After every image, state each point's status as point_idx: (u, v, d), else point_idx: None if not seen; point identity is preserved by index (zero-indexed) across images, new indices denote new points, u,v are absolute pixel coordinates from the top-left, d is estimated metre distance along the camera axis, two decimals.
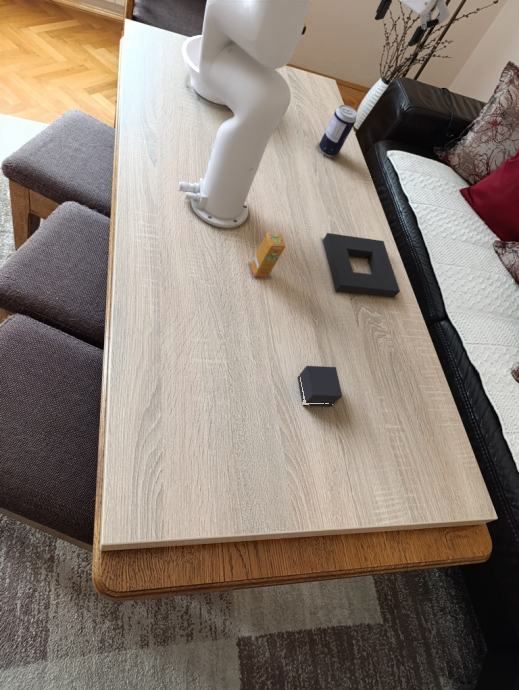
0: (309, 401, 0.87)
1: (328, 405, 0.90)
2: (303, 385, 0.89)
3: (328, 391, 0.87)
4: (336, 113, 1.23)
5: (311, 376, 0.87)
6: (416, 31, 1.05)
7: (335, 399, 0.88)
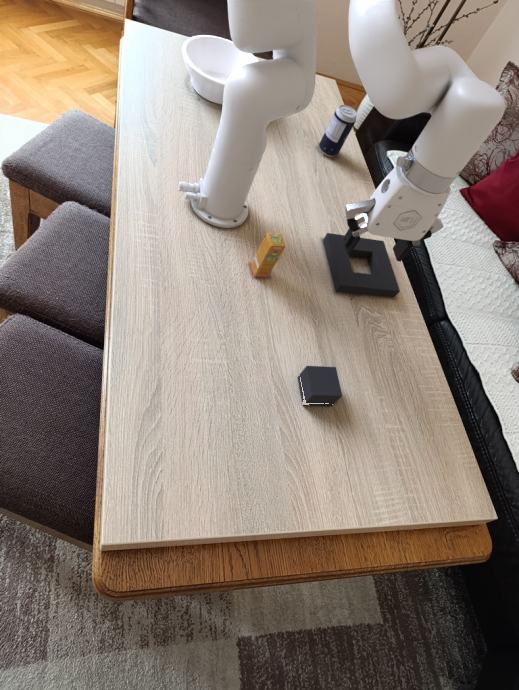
0: (309, 401, 0.87)
1: (328, 405, 0.90)
2: (303, 385, 0.89)
3: (328, 391, 0.87)
4: (336, 113, 1.23)
5: (311, 376, 0.87)
6: (407, 249, 0.83)
7: (335, 399, 0.88)
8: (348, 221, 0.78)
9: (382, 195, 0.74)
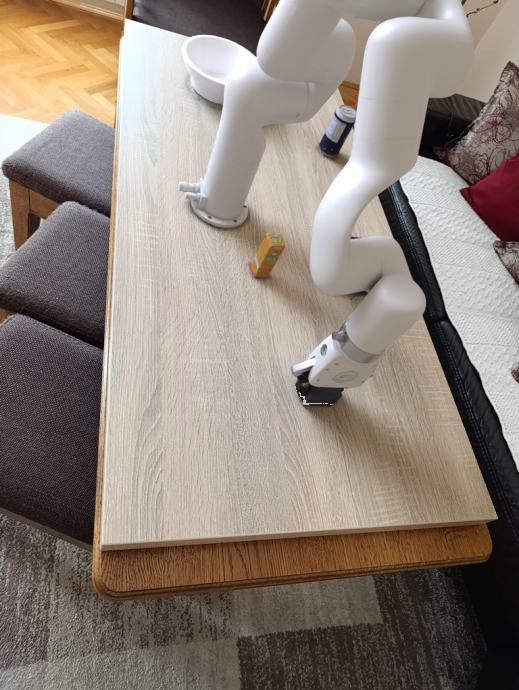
0: (309, 401, 0.87)
1: (328, 405, 0.90)
2: None
3: (328, 391, 0.87)
4: (336, 113, 1.23)
5: None
6: None
7: (335, 399, 0.88)
8: (297, 378, 0.84)
9: (321, 358, 0.79)
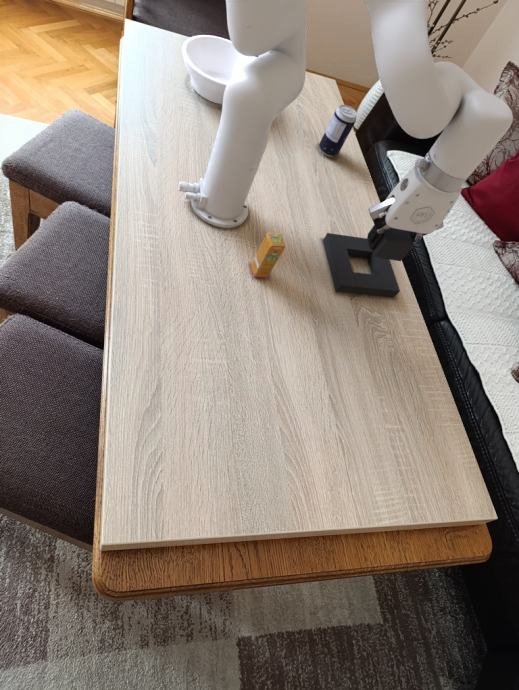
0: (382, 250, 0.92)
1: (398, 259, 0.94)
2: None
3: (400, 240, 0.91)
4: (336, 113, 1.23)
5: None
6: None
7: (406, 250, 0.92)
8: (374, 221, 0.88)
9: (401, 192, 0.83)
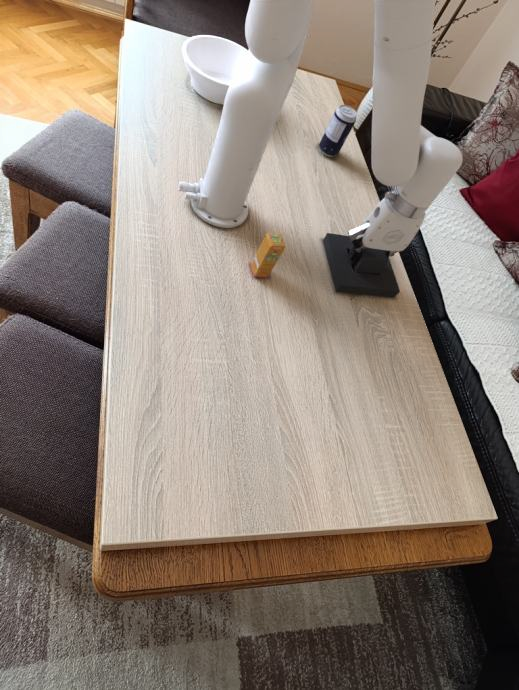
0: (361, 266, 1.07)
1: (375, 273, 1.10)
2: None
3: (376, 257, 1.06)
4: (336, 113, 1.23)
5: None
6: None
7: (382, 265, 1.08)
8: (353, 242, 1.03)
9: (374, 219, 0.98)
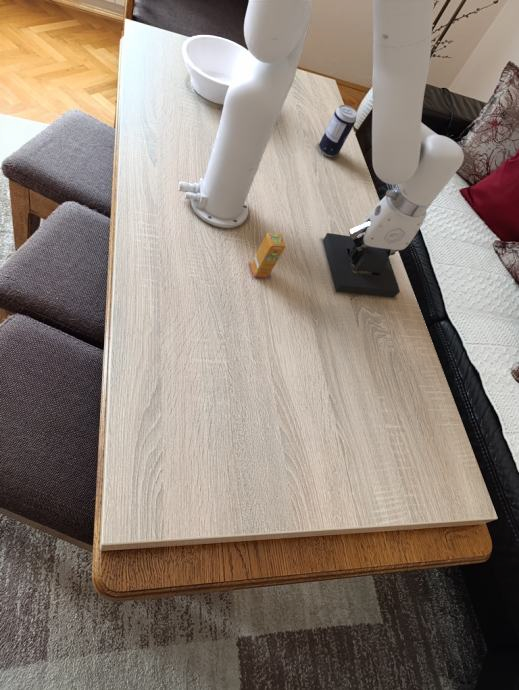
0: (361, 264, 1.07)
1: (376, 271, 1.09)
2: None
3: (377, 256, 1.06)
4: (336, 113, 1.23)
5: None
6: None
7: (383, 264, 1.07)
8: (354, 241, 1.03)
9: (375, 217, 0.98)
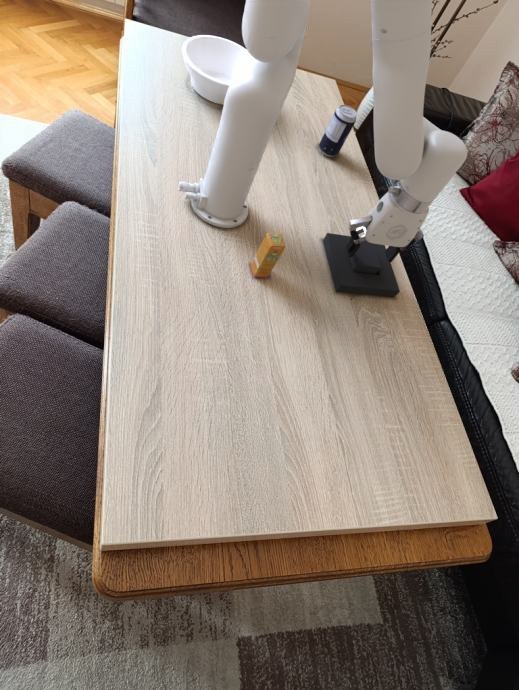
0: None
1: None
2: None
3: (370, 263, 1.08)
4: (336, 113, 1.23)
5: (356, 251, 1.08)
6: (396, 253, 1.07)
7: (375, 271, 1.09)
8: (351, 232, 1.01)
9: (377, 213, 0.97)
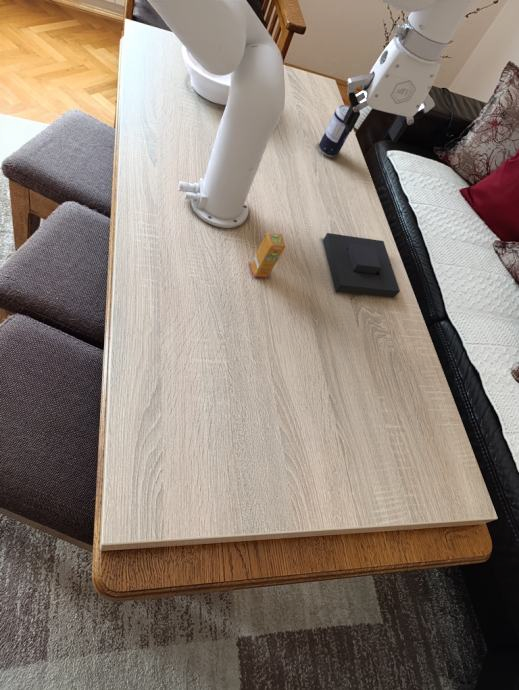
0: None
1: None
2: None
3: (370, 263, 1.08)
4: (336, 113, 1.23)
5: (356, 251, 1.08)
6: (402, 128, 0.92)
7: (375, 271, 1.09)
8: (349, 95, 0.86)
9: (381, 66, 0.82)
